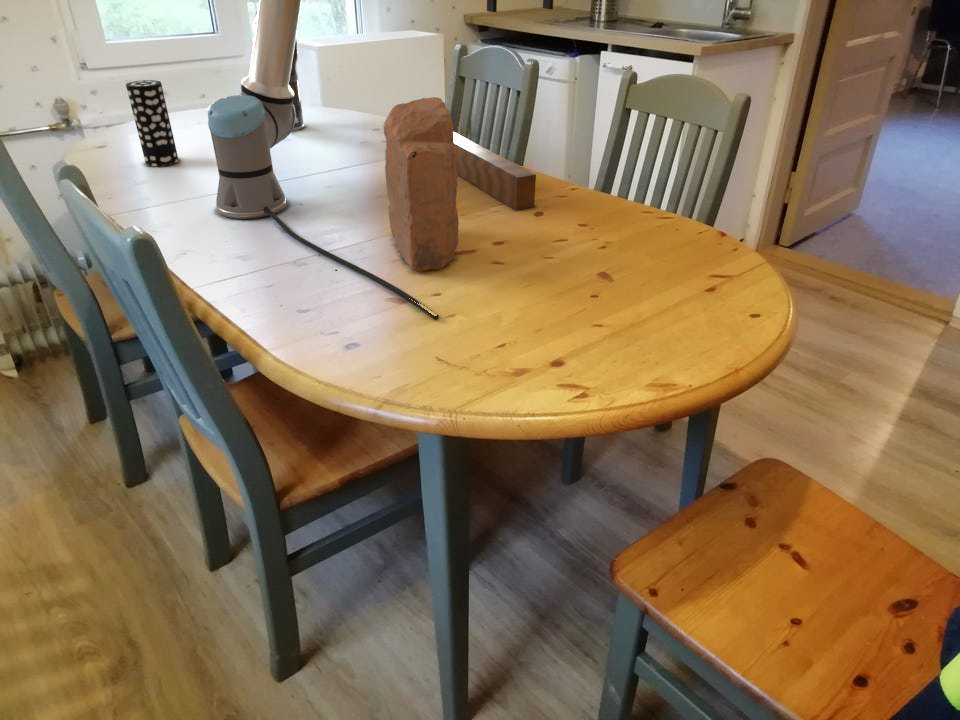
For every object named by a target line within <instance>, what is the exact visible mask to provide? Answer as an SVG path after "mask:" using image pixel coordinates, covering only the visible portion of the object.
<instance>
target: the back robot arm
mask: <svg viewBox="0 0 960 720" xmlns="http://www.w3.org/2000/svg"><path fill="white" fill-rule="evenodd" d="M257 12H258V8H257V9H256V12H255V16H254V19H253V34H254V35H255V28H256V20H257ZM298 58H299V53H298V38H297V36H296V42H295V48H294V54H293V61H292V67H291V73H290V80H289V86H290V87H291V89H292V90H293V92H294V99H293V105H294V107H295V111H296V121H295V125H294V127H293V129H292V131H291V132H294V131H298V130H302V129H304V128H305V123H304V116H303V107H302V100H301V99H302V98H301V91H300V84H299V83H300V82H299V76H298V67H297V64H298Z"/></svg>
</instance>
